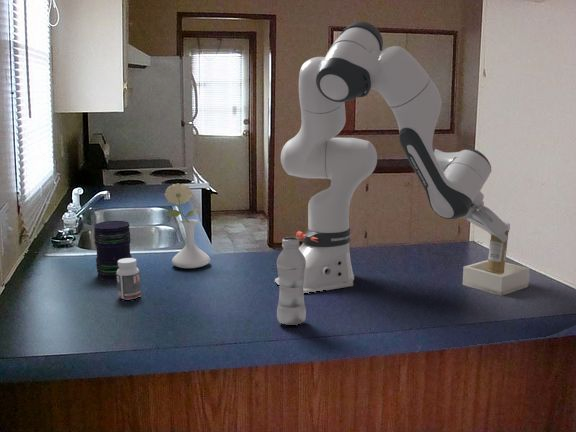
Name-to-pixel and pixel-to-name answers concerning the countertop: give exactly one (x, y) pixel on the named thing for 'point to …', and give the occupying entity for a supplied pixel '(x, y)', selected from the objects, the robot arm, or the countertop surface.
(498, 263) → the sprinkles bottle
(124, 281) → the pill bottle
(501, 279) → the box
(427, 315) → the countertop surface
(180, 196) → the flower in vase
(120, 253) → the storage jar
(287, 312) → the plastic bottle
